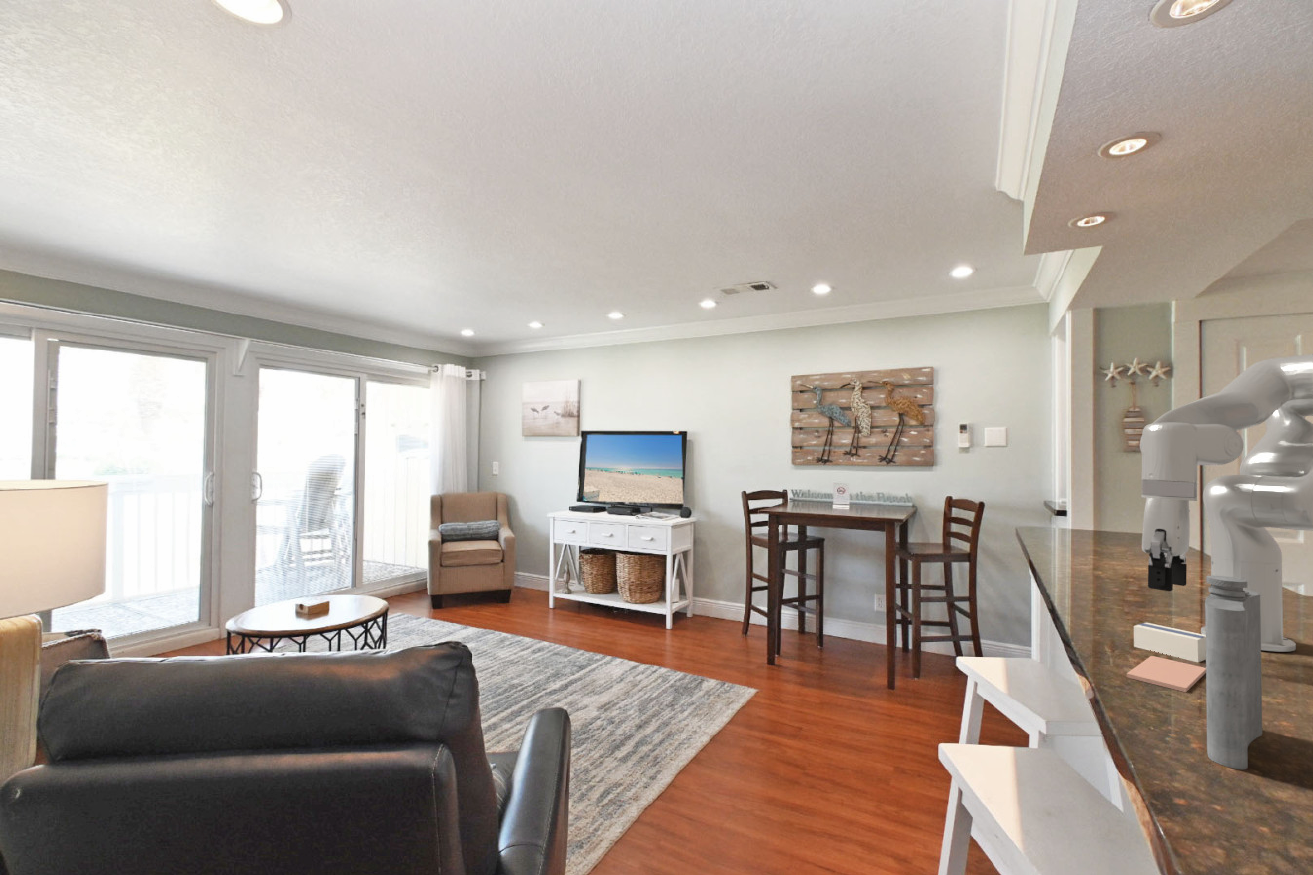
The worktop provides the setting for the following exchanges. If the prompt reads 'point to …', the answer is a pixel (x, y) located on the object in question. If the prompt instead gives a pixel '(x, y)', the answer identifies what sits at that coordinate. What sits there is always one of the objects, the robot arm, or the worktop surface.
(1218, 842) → the worktop surface
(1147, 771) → the worktop surface
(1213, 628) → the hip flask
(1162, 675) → the mat
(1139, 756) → the worktop surface
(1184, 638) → the card box
